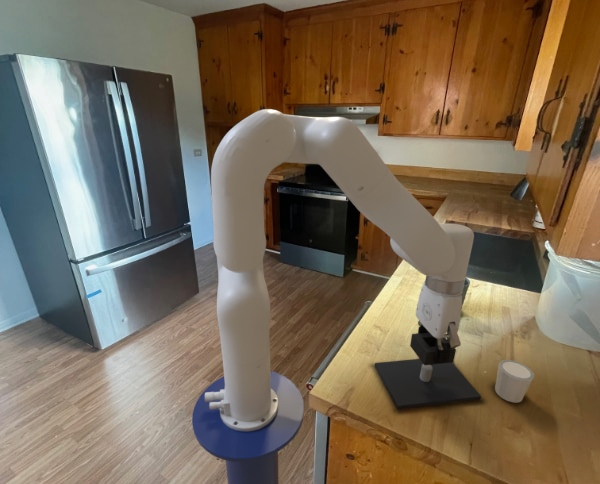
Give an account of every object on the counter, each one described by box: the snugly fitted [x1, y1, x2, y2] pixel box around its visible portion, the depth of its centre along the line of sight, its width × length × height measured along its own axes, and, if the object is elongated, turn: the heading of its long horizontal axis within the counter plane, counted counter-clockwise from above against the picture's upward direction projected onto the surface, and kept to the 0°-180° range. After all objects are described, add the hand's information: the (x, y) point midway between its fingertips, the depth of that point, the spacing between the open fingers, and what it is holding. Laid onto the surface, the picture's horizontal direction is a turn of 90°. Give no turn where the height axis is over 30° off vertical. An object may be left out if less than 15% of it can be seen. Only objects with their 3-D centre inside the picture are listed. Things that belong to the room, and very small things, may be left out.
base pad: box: [374, 358, 482, 411], centre depth 79 cm, size 20×14×5 cm
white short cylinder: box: [494, 359, 535, 404], centre depth 76 cm, size 7×7×7 cm
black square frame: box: [409, 332, 457, 365], centre depth 76 cm, size 7×7×4 cm
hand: (431, 350), depth 76 cm, fingers closed on black square frame, 7 cm apart
